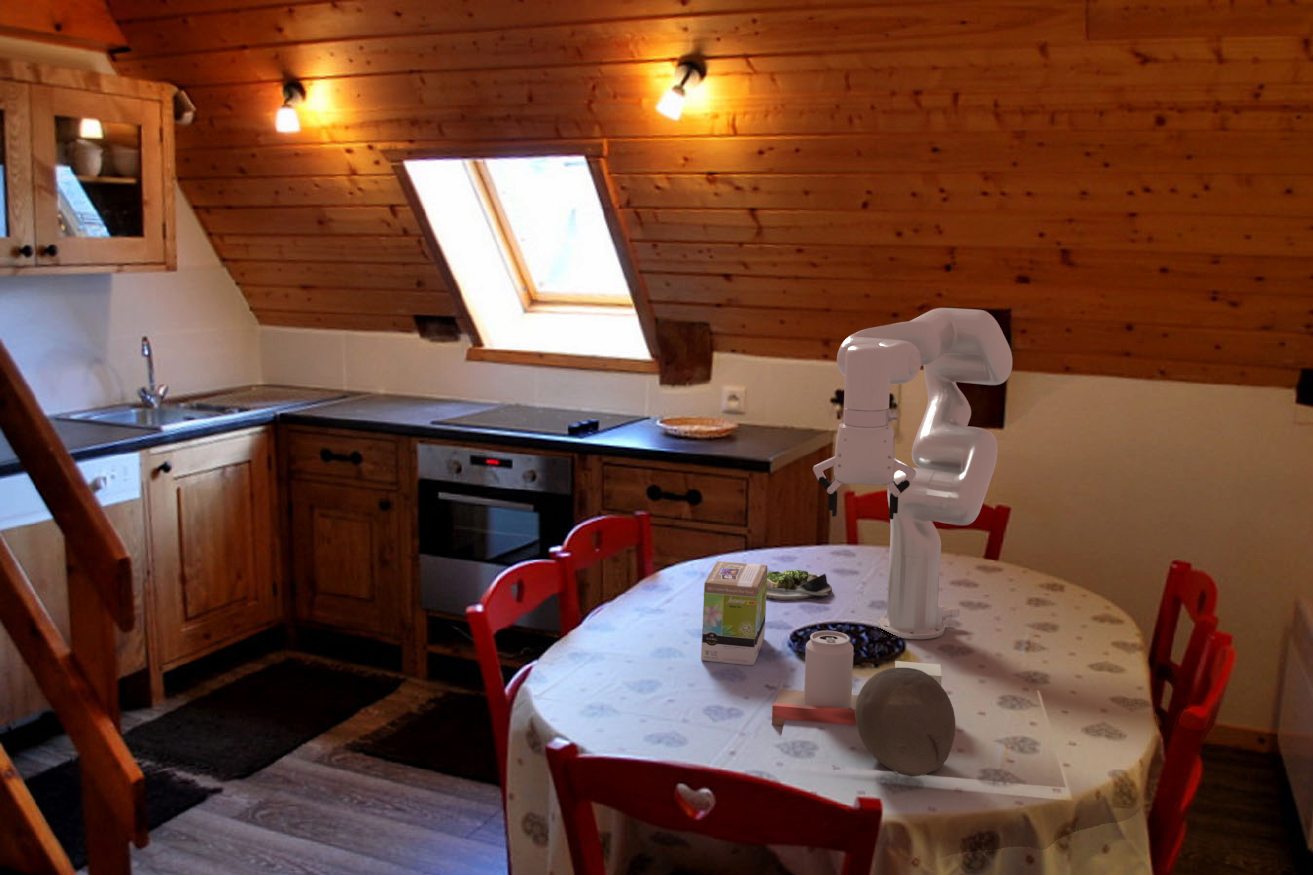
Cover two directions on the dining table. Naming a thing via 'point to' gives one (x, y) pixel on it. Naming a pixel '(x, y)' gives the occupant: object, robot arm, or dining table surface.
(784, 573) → the salad plate
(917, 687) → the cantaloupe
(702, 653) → the tea box
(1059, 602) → the dining table surface
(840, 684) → the can
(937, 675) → the cream rectangular block
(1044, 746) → the dining table surface
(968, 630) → the dining table surface
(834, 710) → the shelf board
